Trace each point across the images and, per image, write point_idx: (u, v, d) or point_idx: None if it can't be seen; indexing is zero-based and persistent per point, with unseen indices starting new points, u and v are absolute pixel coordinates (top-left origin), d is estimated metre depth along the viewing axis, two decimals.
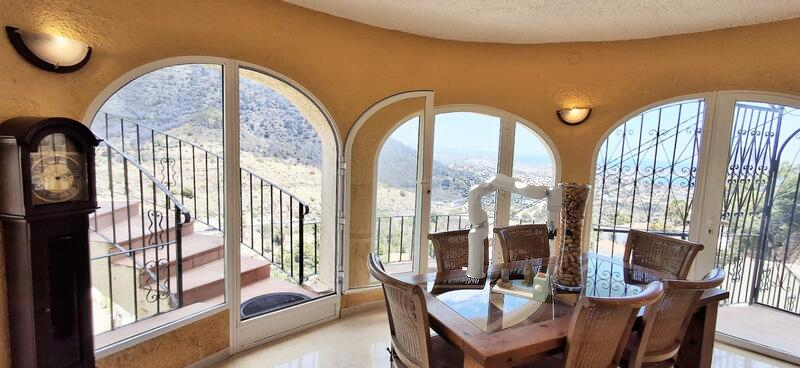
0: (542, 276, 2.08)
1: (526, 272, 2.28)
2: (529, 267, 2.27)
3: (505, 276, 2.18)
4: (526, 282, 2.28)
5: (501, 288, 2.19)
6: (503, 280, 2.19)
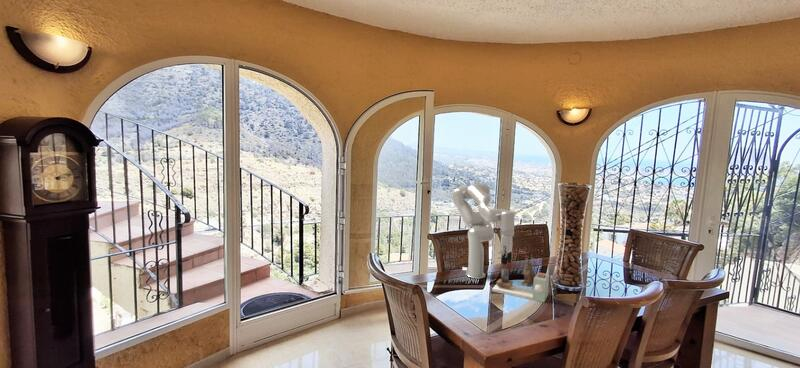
0: (542, 276, 2.08)
1: (526, 272, 2.28)
2: (529, 267, 2.27)
3: (505, 276, 2.18)
4: (526, 282, 2.28)
5: (501, 288, 2.19)
6: (503, 280, 2.19)
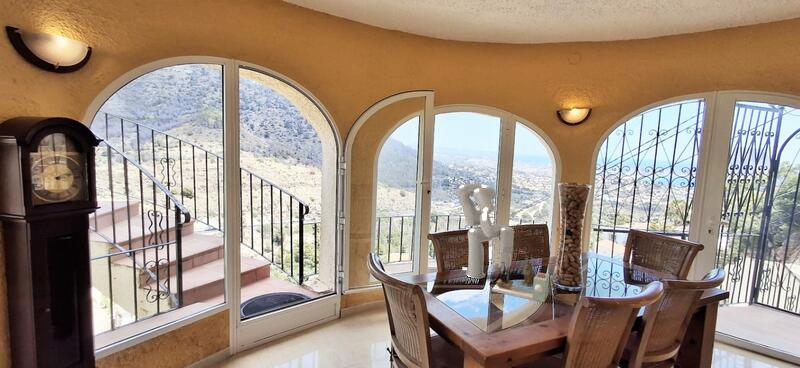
0: (542, 276, 2.08)
1: (526, 272, 2.28)
2: (529, 267, 2.27)
3: None
4: (526, 282, 2.28)
5: (501, 288, 2.19)
6: None
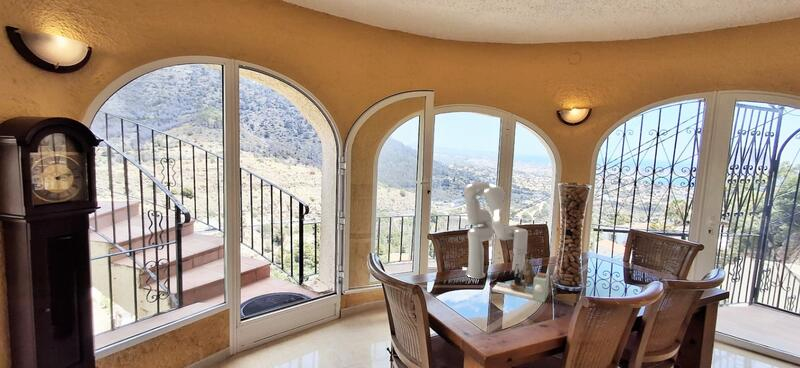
0: (542, 276, 2.08)
1: (526, 272, 2.28)
2: (529, 267, 2.27)
3: None
4: (526, 282, 2.28)
5: (501, 288, 2.19)
6: (517, 283, 2.15)
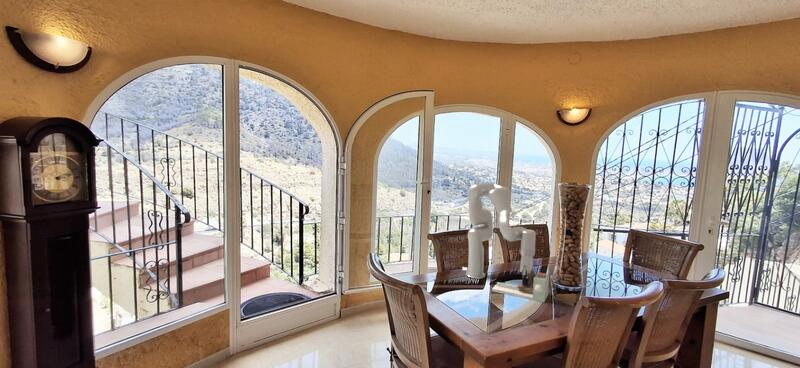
0: (542, 276, 2.08)
1: None
2: None
3: None
4: None
5: (501, 288, 2.19)
6: None
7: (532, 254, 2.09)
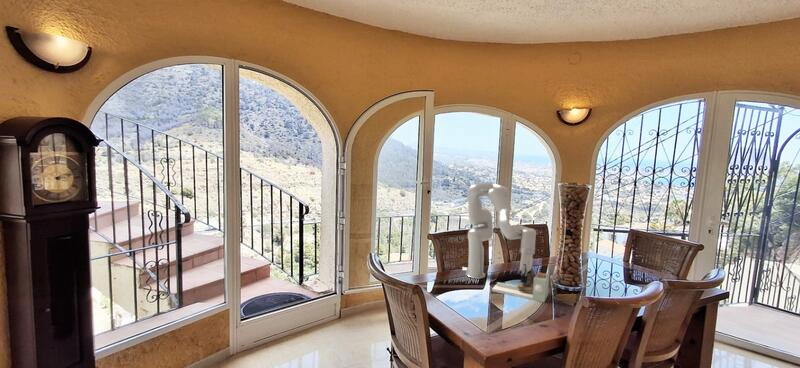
0: (542, 276, 2.08)
1: None
2: None
3: None
4: None
5: (501, 288, 2.19)
6: (524, 284, 2.13)
7: (532, 253, 2.09)
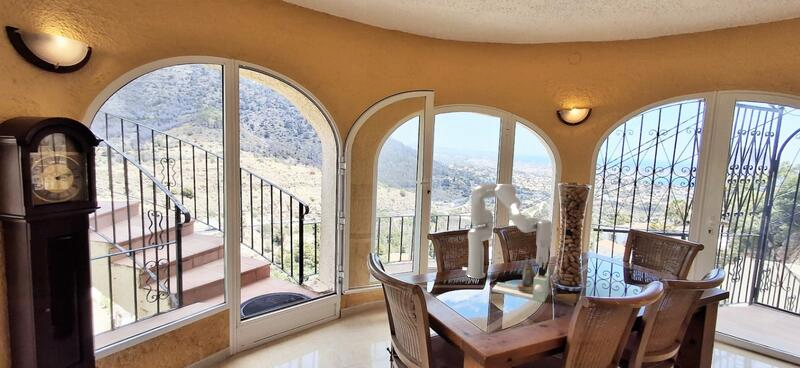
0: None
1: (526, 272, 2.28)
2: (529, 267, 2.27)
3: (526, 280, 2.12)
4: None
5: (501, 288, 2.19)
6: (524, 284, 2.13)
7: (548, 245, 2.04)
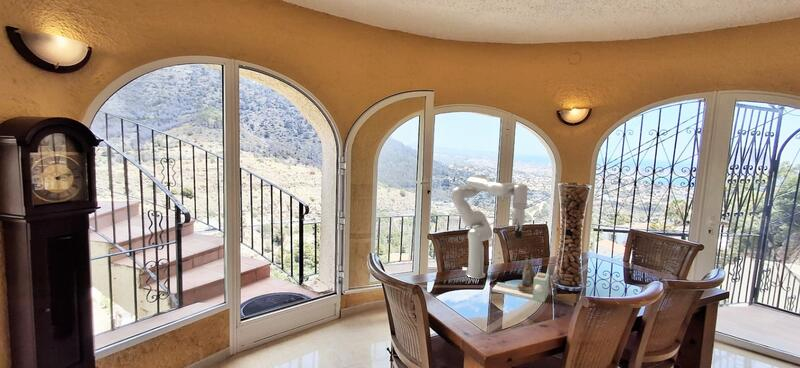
0: None
1: (526, 272, 2.28)
2: (529, 267, 2.27)
3: (526, 280, 2.12)
4: None
5: (501, 288, 2.19)
6: (524, 284, 2.13)
7: (524, 207, 2.13)
